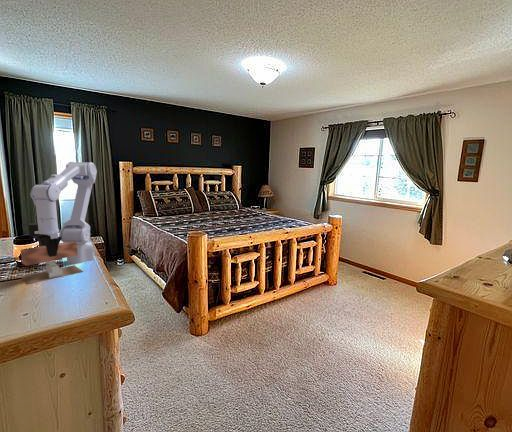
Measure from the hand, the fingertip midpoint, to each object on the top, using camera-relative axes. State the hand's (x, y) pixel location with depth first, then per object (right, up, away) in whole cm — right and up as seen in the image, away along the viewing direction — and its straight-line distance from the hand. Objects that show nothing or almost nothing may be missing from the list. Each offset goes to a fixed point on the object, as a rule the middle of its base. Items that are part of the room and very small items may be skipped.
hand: (51, 254), depth 101 cm
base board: (0, -8, +1) cm, 8 cm away
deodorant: (-25, -4, +27) cm, 37 cm away
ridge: (0, -7, +1) cm, 7 cm away
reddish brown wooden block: (0, -2, 0) cm, 2 cm away
